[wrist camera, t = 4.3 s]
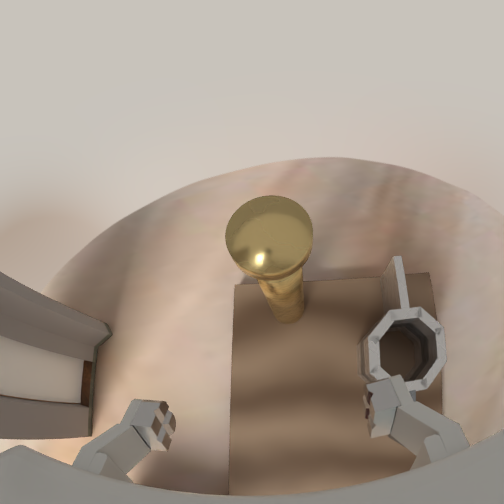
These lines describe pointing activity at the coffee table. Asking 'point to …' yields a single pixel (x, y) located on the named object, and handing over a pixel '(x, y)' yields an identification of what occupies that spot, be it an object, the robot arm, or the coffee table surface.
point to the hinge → (412, 326)
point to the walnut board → (314, 389)
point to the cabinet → (45, 365)
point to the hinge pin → (273, 250)
